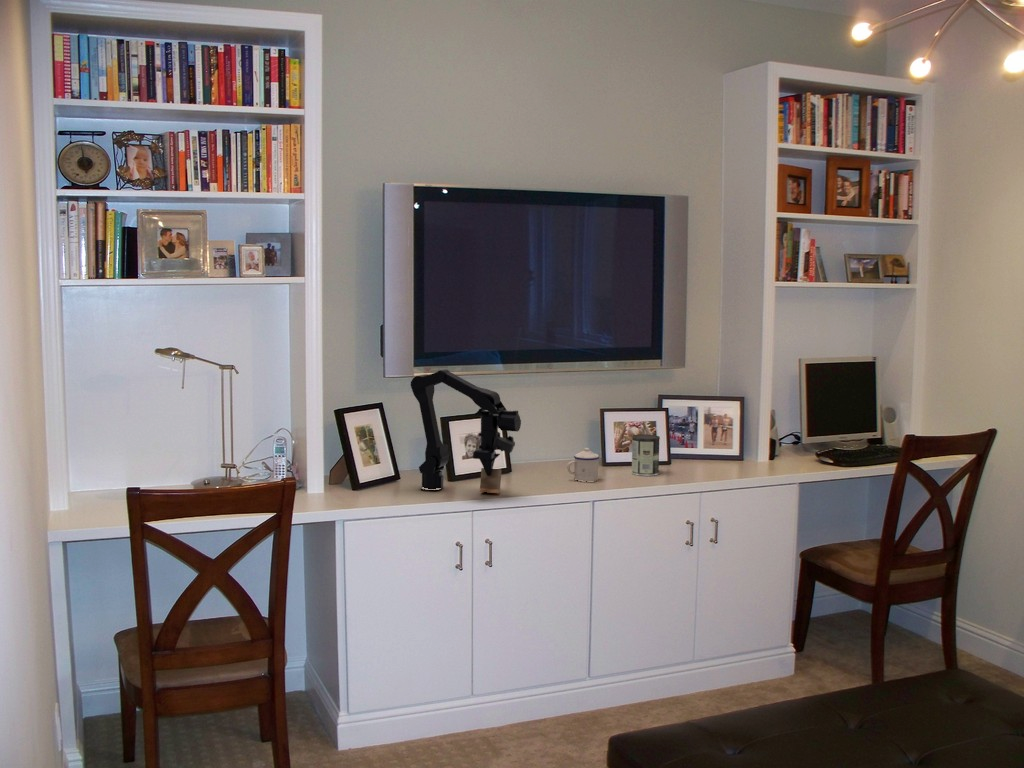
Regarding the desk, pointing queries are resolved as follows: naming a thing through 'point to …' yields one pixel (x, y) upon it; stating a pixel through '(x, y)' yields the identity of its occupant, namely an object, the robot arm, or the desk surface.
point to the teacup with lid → (585, 466)
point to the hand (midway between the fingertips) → (489, 475)
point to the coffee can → (645, 455)
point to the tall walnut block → (490, 481)
